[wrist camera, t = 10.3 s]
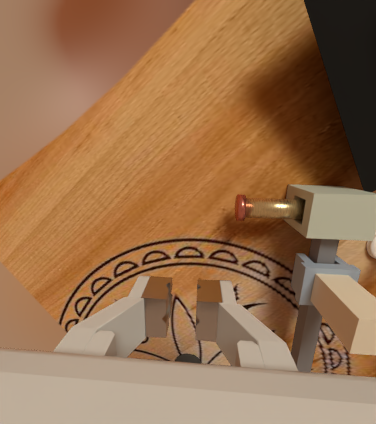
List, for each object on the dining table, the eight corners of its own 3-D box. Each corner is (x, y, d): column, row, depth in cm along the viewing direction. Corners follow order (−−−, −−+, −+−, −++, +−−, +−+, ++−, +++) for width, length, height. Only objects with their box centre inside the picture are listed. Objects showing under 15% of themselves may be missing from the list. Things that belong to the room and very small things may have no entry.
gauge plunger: (314, 194, 26) (329, 199, 23) (310, 219, 27) (324, 227, 24) (236, 192, 27) (240, 197, 24) (234, 216, 28) (238, 223, 25)
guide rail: (341, 186, 28) (385, 195, 21) (298, 395, 38) (318, 447, 31) (283, 184, 29) (308, 193, 22) (255, 391, 38) (266, 441, 32)
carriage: (339, 254, 27) (423, 315, 17) (332, 288, 29) (405, 364, 18) (292, 252, 28) (345, 311, 17) (286, 285, 29) (333, 358, 19)
